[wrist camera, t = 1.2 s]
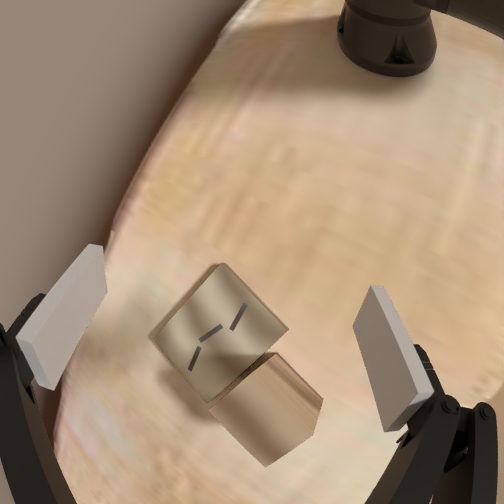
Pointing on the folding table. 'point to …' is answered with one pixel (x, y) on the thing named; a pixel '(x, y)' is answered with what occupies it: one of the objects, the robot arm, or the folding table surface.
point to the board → (219, 333)
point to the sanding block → (270, 411)
